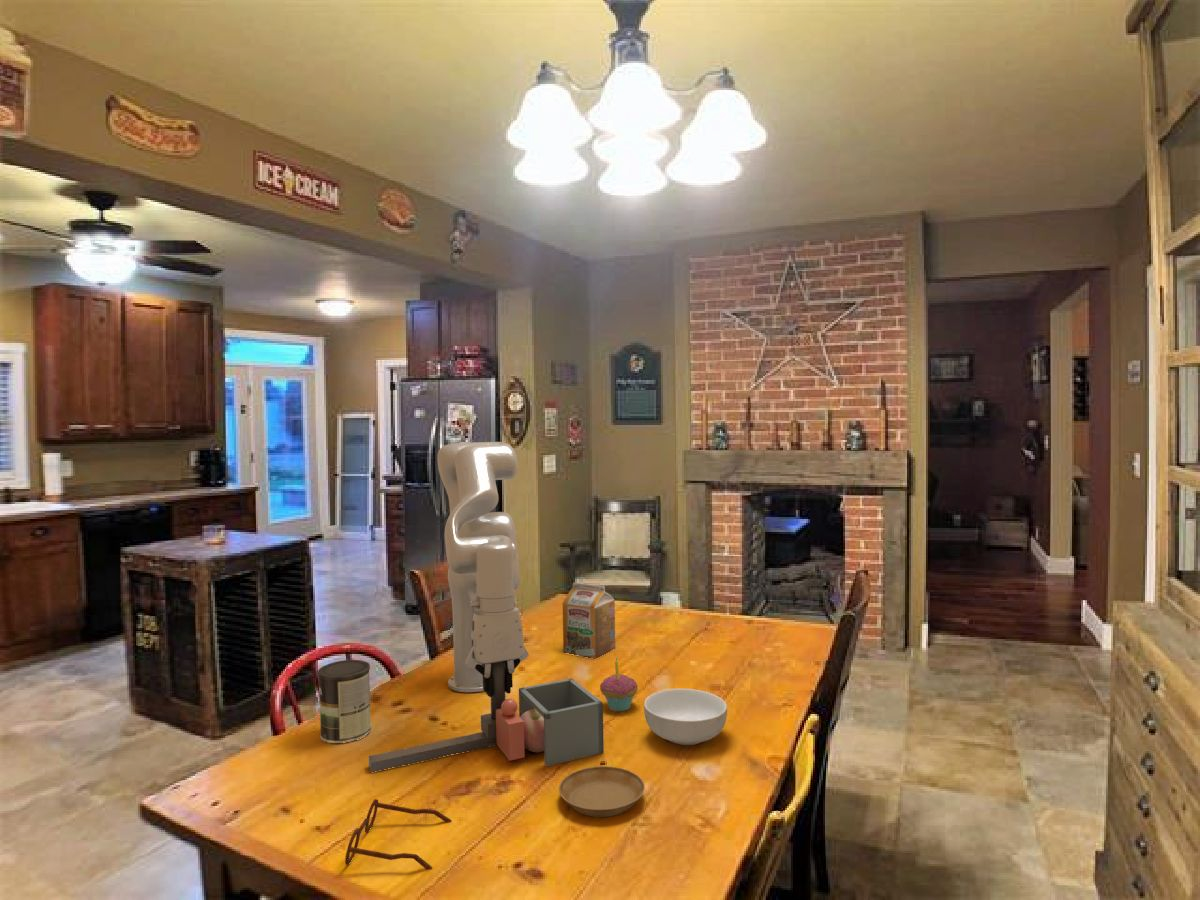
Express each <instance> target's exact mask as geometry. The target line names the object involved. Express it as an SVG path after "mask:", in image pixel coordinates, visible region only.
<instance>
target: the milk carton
mask: <svg viewBox="0 0 1200 900" xmlns="http://www.w3.org/2000/svg"><path fill="white" fill-rule="evenodd" d="M615 601H616V600H615V599H614V597H613V596H612V595H611V594H610V593H608V592H607V591H606V588H605V586H604V585H598V584H590V583H581V582H573V583H572V588H571V589H570V591H569V592H568V593H567V594H566V596H565V597H564V600H563V602H562V640H563V641H562V642H563V646H562V648H563V649H562V650H563V652H564V653H569V654H574V655H579V656H583V657H582V658H584V657H588V658H587V659H589V658H593V659H592V660H594V659H596V658H598V657H600V656H601V657H603V656H605V655H607V654H609V653H611V652H612V651H611V650H613V649H614V650H616V608H615V607H616V605H615V603H616V602H615ZM614 650H613V651H614ZM610 651H611V652H610ZM608 652H609V653H608ZM606 653H607V654H606ZM604 654H605V655H604ZM602 655H603V656H602ZM579 656H578V657H579ZM601 657H600V658H601ZM598 659H599V658H598ZM596 660H597V659H596Z"/></svg>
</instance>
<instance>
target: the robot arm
mask: <svg viewBox="0 0 1200 900" xmlns="http://www.w3.org/2000/svg"><path fill="white" fill-rule="evenodd" d="M437 468H438V473H439V476H440V479H441V481H442V484H443V486H444V488H445V492H446V493H447V497H448V503H449V504H448V505H449V516H448V518H447V519H446V522H445V527H444V544H445V552H446V553H445V554H446V561H447V565H448V570H447V580H448V581H447V582H448V587H449V591H450V598H451V609H452V610H451V611H452V635H453V637H452V639H453V640H452V641H453V673H454V674H453V676H451V677H450V678H449V679H448V682H447V685H448V688H449V689H450V690H452V691H455V692H459V693H478V692H484V693H485V694H486V695H487V696H488V697H489V698H491V697H492V696H493V677H492V676H491V673H490V671H491V663H497V662H503V661H505V694H507V695H509V694H511V692H512V691H511V690H512V689H511V688H513V685H514V684H513V683H514V682H513V674H514V673H515V670H516V669H517V667H518V666H519V664H520V663H521V662H523V661H524V660H525V659H527V658H528V657H529V656H530V655H529V652H528V650H527V648H526V647H525V641H524V632H523V624H522V618H521V613H520V608H518V607H516V605H515V603H516V602H515V591H516V590H517V589H518V587H519V585H520V577H521V576H520V565H519V551H518V542H517V540H518V539H517V533H516V525H515V521H514V519H513V517H512V516H511V515H510V513H507V512H504V511H496V512H495V511H494V512H493V510H494V509H495V508H496V507H497V505H498V503H499V493H498V488H497V484H496V481H499V480H500V481H502V480H505V481H506V480H507V481H508V480H513V479H514V478H515V477H516V475H517V473H518V470H519V469H518V468H519V463H518V456H517V453H516V451H515V449H514V448H513V446H512V445H510V444H509V443H506V442H503V441H484V442H483V441H481V442H477V441H475V442H474V441H473V442H467V441H466V442H455V443H454V442H453V443H448V444H445V445H443V446H441V447H440V449H439V450H438V453H437Z"/></svg>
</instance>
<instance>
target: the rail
mask: <svg viewBox="0 0 1200 900" xmlns="http://www.w3.org/2000/svg"><path fill="white" fill-rule="evenodd" d="M496 746H497V747H498V745H497V741H496V738H492V739H488V738H487V737H486V735H485V734H484V733H483V732H482V731H481V732H475V733H472V734H467V735H462V736H459V737H457V736H456V737H453V738H449V739H444V740H443V739H442V740H439V741H435V742H429V743H424V744H419V745H415V746H410V747H407V748H405V747H404V748H401V749H396V750H395V749H394V750H391V751H386V752H382V753H378V754H377V753H376V754H373V755H368V768H369V771H370V770H371V771H370V773H371V772H375V771H379V770H384V769H388V768H392V767H397V768H399V767H398V766H402V765H406V766H409V765H408V764H411V765H414V764H413V763H415V764H418V763H417V762H420V763H422V762H421V761H424V762H427V761H426V760H429V761H431V760H430V759H433V760H435V759H434V758H438V759H440V758H439V757H442V758H444V757H443V756H447V755H451V754H456V753H460V754H463V753H462V752H465V753H468V752H467V751H470V752H473V751H472V750H474V751H478V749H479V750H483V749H486V748H487V749H488V748H491V747H496ZM456 755H457V754H456ZM451 756H452V755H451ZM447 757H448V756H447ZM402 767H403V766H402ZM388 770H389V769H388ZM384 771H385V770H384ZM379 772H380V771H379ZM375 773H376V772H375Z"/></svg>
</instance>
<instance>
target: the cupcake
mask: <svg viewBox="0 0 1200 900" xmlns="http://www.w3.org/2000/svg"><path fill="white" fill-rule="evenodd" d="M614 662H615V664H614V665H615V666H614V667H615V668H614V669H615V674H613V675H610V676H608V677H606V678H604V679H603V680H602V682H600V684H599V685H600V686H599V687H600V688H599V691H600V692H601V694H602V695H603V696H604V697H605V699H606V702H607V705H608V708H609V710H610V711H613V710H614V711H613V712H624V711H625V712H626V711H628V710H629V709H630V708H631V704H632V701H633V698H634V697H635V695H636V694H637V693H638V683H637V681H636V680H634V678H632V677H630V676H628V675H625V674H620V672H619V660H618V659H617V657H615V661H614Z"/></svg>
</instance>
